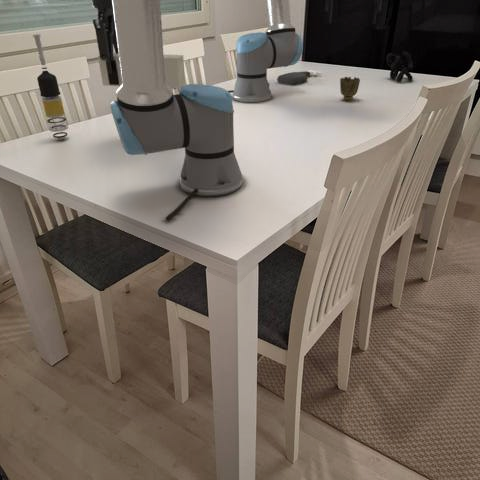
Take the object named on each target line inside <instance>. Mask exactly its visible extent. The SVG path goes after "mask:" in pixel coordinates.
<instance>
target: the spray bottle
mask: <svg viewBox="0 0 480 480" xmlns="http://www.w3.org/2000/svg"><path fill="white" fill-rule="evenodd" d="M318 75H322V71H318V70H311V69H310V70H308V69H306V71H291V72H286V73H283V74H280V75H278V76H277V78H276V81H277V83H278V84H282V85H289V86H296V85H299V84H303V83H306V82H307V81H308V77H310V76H318Z"/></svg>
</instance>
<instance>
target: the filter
mask: <svg viewBox="0 0 480 480" xmlns="http://www.w3.org/2000/svg"><path fill="white" fill-rule="evenodd" d="M32 37H33V38H34V41H35V46H36V48H37V51H38V58H39V61H40V64H41V66H44V67H42V68H41V69H42V72H41V73H40V74H39V75H38V76H37V77H36V80H37V84H38V88H39V93H40V97H42V98H41V101H42V104H43V108H44V112H45V117H46V118H49V119H47V120H46V122H47V123H48V124H53V125H50V126H49V127H48V130H49V131H50V132H53V134H52V137H53V138H55V139H58V140H64V138H66V137H67V136H68V133H67V132H65V131H66V130H69V125H68V124H66V123H63V122H65V121H67V118H66V117H64V116H65V115H66V114H65V110H64V106H63V100H62V97H61V91H60V88H59V82H58V79H57V76H56V75H55V74H53V73H51V72H50V71H49V70H47V69H48V67H45V66H47V65H46V58H45V55H44V52H43V48H42V42H41V34H38V33H37V34H32ZM56 119H62V120H58V121H52V120H56ZM60 134H62V135H60ZM63 134H64V135H63ZM57 135H58V136H57Z"/></svg>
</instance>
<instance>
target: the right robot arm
mask: <svg viewBox="0 0 480 480" xmlns="http://www.w3.org/2000/svg"><path fill="white" fill-rule="evenodd" d="M382 2H383V0H374V3H373V10H372V11H373V12H372V20H371V25H375V24H376V19H377V13H380V12H381V10H382V4H383V3H382ZM265 3H266V4H265V5H266V13H267V23H268V24H267V25H268V27H267V28H266V30H265V32H262V31H259V32H249V33H245V34H242V35H241V36H239V37H238V38H237V40H236V45H235V46H236V48H235V52H236V82H235V85H234V89H232V90H231V89H230V90H227V91H228V92H229V93H230V94H231V93H232V100H234V101H237V102H240V103H247V104H248V103H250V104H251V103H263V102H267V101H269V100H271V99H272V92H271V89H270V83H269V81H268V75H267V74H268V69H276V68H287V67H289V66H290V67H291V66H293V65H295V64H297V63H298V62H299V61H300V59H301V57H302V54H303V50H304V42H303V39H302V36H301V35H300V34H299V33H297V32H296V27H295V26H294V25H293V24H292V22H291V10H290V0H265ZM333 4H334V0H325V4H324V5H325V6H324V11H325V12H327V22H326V24H331V23H332V19H333V18H332V17H333V6H334V5H333ZM173 90H176V89H175V88H173Z"/></svg>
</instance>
